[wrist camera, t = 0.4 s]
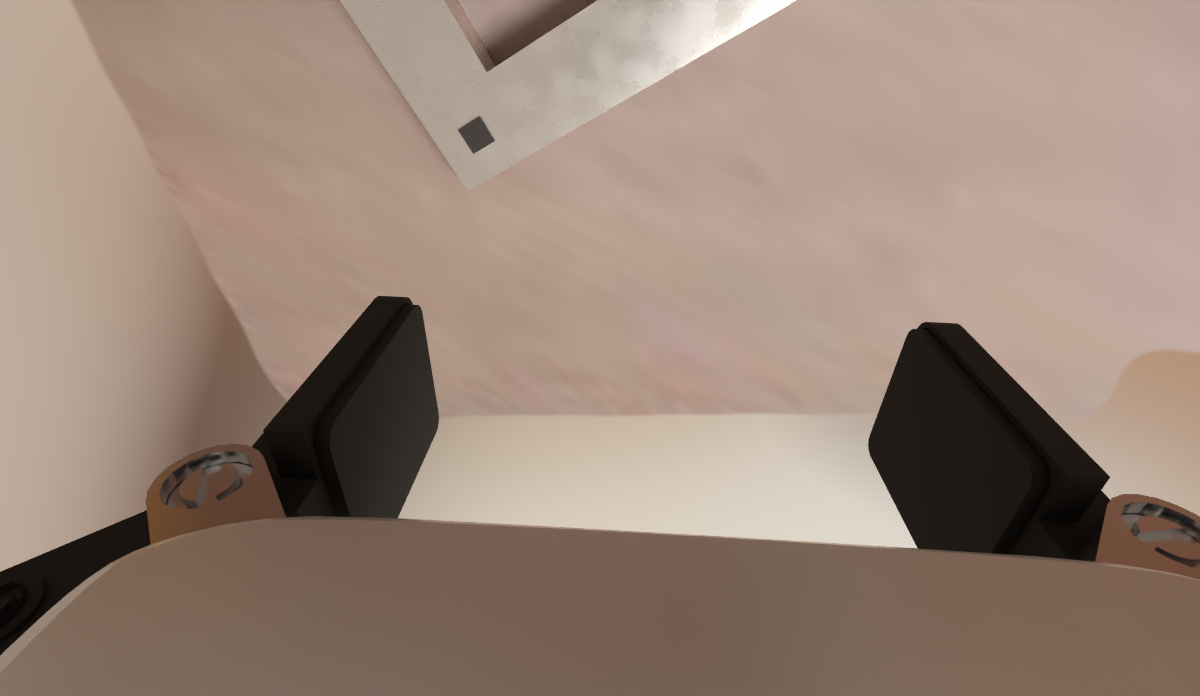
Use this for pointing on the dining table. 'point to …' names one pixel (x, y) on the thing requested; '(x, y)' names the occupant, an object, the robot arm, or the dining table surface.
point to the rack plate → (536, 68)
